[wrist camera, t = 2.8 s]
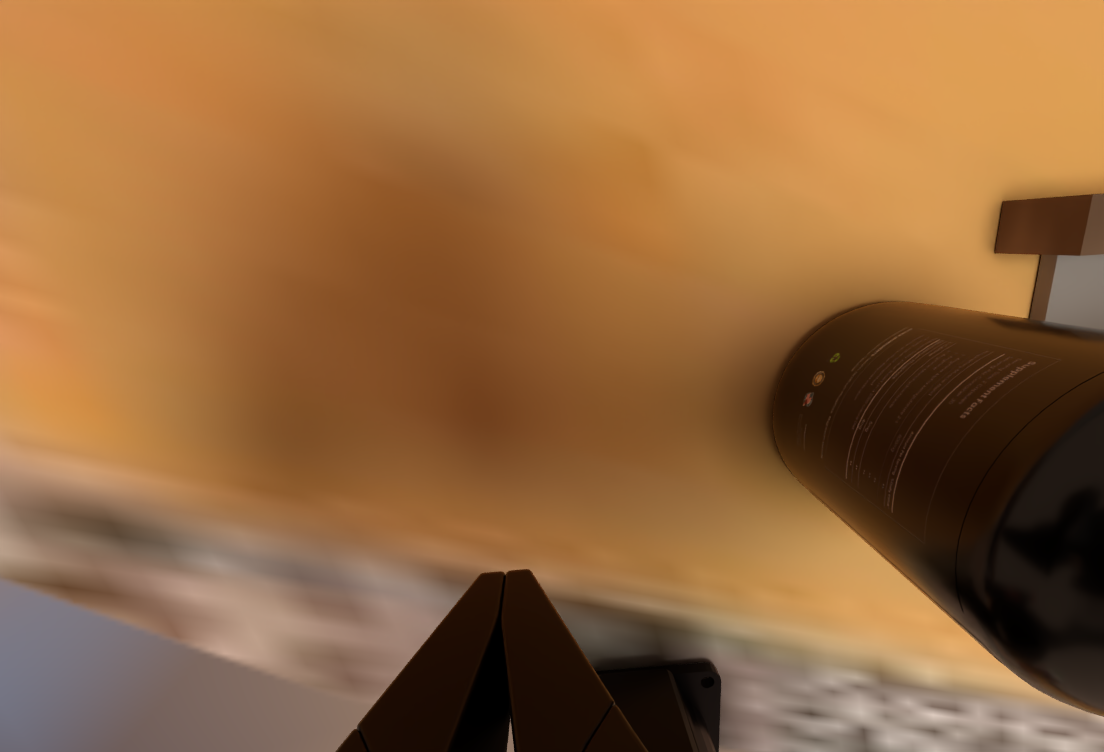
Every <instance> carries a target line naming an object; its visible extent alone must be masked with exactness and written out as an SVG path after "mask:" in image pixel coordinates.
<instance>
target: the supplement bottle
mask: <svg viewBox="0 0 1104 752" xmlns="http://www.w3.org/2000/svg"><path fill="white" fill-rule="evenodd" d="M773 431H774V437H775V440H776V444H777V447H778V450H779V452H780V455H781V457H782V459H783V461H784V463H785V464H786V466H787V467H788V469H789V470H790V472H791V473H792V474H793V475H794V476H795V477H796V478H797V480H798V481H799V482H800V483H801V484H802V485H803V486H804V487H805V488H806V489H808V490H809V491H810V492H811V493H812V494H813V495H814V496H815V497H816V498H817V499H818V500H819V501H820V502H822V503H823V504H824V505H825V506H826V507H827V508H828V509H829V510H831V511H832V512H833V513H834V514H835V515H836V516H837V517H838V518H839V519H841V520H842V521H843V522H844V523H845V524H846V525H847V526H848V527H850V528H851V529H852V530H853V531H854V532H855V533H856V534H857V535H858V536H860V537H861V538H862V539H863V540H864V541H865V542H866V543H867V544H869V545H870V546H871V547H872V548H873V549H874V550H875V551H876V552H877V553H879V554H880V555H881V556H882V557H883V558H884V559H885V560H886V561H888V562H889V563H890V564H891V565H892V566H893V567H894V568H895V569H896V570H898V571H899V572H900V573H901V574H902V575H903V576H904V577H905V578H907V579H908V580H909V581H910V582H911V583H912V584H913V585H914V586H915V587H917V588H918V589H919V590H920V591H921V592H922V593H923V594H924V595H926V596H927V597H928V598H929V599H930V600H931V601H932V602H933V603H934V604H936V605H937V606H938V607H939V608H940V609H941V610H942V611H943V612H945V613H946V614H947V615H948V616H949V617H950V618H951V619H952V620H953V621H955V622H956V623H957V624H958V625H959V626H960V627H961V628H962V629H964V630H965V631H966V632H967V633H968V634H969V635H970V636H971V637H973V638H974V639H975V640H976V641H977V642H978V643H979V644H980V645H981V646H983V647H984V648H985V649H986V650H987V651H988V652H989V653H990V654H992V655H993V656H994V657H995V658H996V659H997V660H998V661H1000V662H1001V663H1002V664H1004V665H1005V666H1006V667H1007V668H1008V669H1010V670H1011V671H1012V672H1013V673H1015V674H1016V675H1017V676H1018V677H1020V678H1021V679H1022V680H1024V681H1025V682H1027V683H1028V684H1030V685H1031V686H1032V687H1034V688H1036V689H1037V690H1039V691H1041V692H1043V693H1045V694H1047V695H1048V696H1050V697H1052V698H1054V699H1056V700H1059V701H1061V702H1063V703H1066V704H1068V705H1071V706H1073V707H1076V708H1078V709H1081V710H1084V711H1086V712H1090V713H1093V714H1096V715H1100V716H1103V717H1104V330H1101V329H1095V328H1088V327H1081V326H1074V325H1067V324H1061V323H1054V322H1047V321H1040V320H1034V319H1027V318H1020V317H1013V316H1006V315H1000V314H993V313H986V312H979V311H972V310H966V309H959V308H952V307H945V306H938V305H929V304H922V303H914V302H882V303H876V304H871V305H867V306H864V307H860V308H857V309H854V310H851V311H849V312H847V313H844V314H842V315H840V316H838V317H836V318H835V319H833V320H831V321H830V322H828V323H827V324H825V325H824V326H822V327H821V328H820V329H818V330H817V331H816V332H815V333H814V334H812V335H811V336H810V337H809V338H808V339H807V340H806V341H805V342H804V343H803V344H802V346H801V347H800V348H799V349H798V350H797V352H796V353H795V354H794V356H793V357H792V359H791V360H790V362H789V363H788V365H787V367H786V368H785V370H784V372H783V375H782V377H781V379H780V382H779V385H778V387H777V391H776V395H775V399H774V406H773Z"/></svg>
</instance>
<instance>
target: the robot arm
mask: <svg viewBox="0 0 1104 752" xmlns="http://www.w3.org/2000/svg"><path fill="white" fill-rule="evenodd" d="M705 677H708V678H705ZM703 678H705V679H703ZM720 696H721V679H720V676H719V673H718V671H717V669H716V667H715V666H714V665H713V664H711V663H705V662H704V663H692V664H680V665H668V666H656V667H644V668H632V669H620V670H608V671H596V672H595V670H594V669H593V667H592V666H591V664H590V662H589V661H588V659H587V658H586V656H585V655H584V653H583V652H582V650H581V648H580V647H579V645H578V644H577V642H576V641H575V639H574V637H573V636H572V634H571V633H570V631H569V630H568V628H567V626H566V625H565V623H564V622H563V620H562V619H561V617H560V615H559V614H558V612H557V611H556V609H555V608H554V606H553V605H552V603H551V601H550V600H549V598H548V597H547V595H546V594H545V592H544V590H543V589H542V587H541V586H540V584H539V583H538V581H537V579H536V578H535V576H534V575H533V573H532V572H531V571H530V570H529V569H524V570H512V571H508V572H507V573H506V575H505V573H504V572H489V573H482V574H480V575H479V576H478V578H477V579H476V580H475V581H474V582H473V584H472V585H471V586H470V587H469V589H468V590H467V591H466V592H465V593H464V595H463V596H462V597H461V598H460V600H459V601H458V602H457V603H456V605H455V606H454V607H453V608H452V609H451V611H450V612H449V613H448V614H447V616H446V617H445V618H444V619H443V621H442V622H441V623H440V624H439V625H438V627H437V628H436V629H435V630H434V632H433V633H432V634H431V635H430V637H429V638H428V639H427V640H426V641H425V643H424V644H423V645H422V646H421V648H420V649H419V650H418V651H417V652H416V654H415V655H414V656H413V657H412V659H411V660H410V661H409V662H408V664H407V665H406V666H405V667H404V668H403V670H402V671H401V672H400V673H399V675H398V676H397V677H396V678H395V680H394V681H393V682H392V683H391V684H390V686H389V687H388V688H387V689H386V691H385V692H384V693H383V694H382V695H381V697H380V698H379V699H378V700H377V702H376V703H375V704H374V705H373V707H372V708H371V709H370V710H369V712H368V713H367V714H366V715H365V717H364V718H363V719H362V720H361V721H360V723H359V724H358V726H357V729H354V730H353V731H352V732H351V733H350V735H349V736H348V737H347V738H346V740H345V741H344V742H343V743H342V744H341V746H340V747H339V748H338V749H337V750H336V752H507V743H508V734H509V723H510V717H511V726H512V734H513V743H514V752H719V725H720Z"/></svg>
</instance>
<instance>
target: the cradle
mask: <svg viewBox="0 0 1104 752" xmlns="http://www.w3.org/2000/svg"><path fill="white" fill-rule="evenodd" d="M995 253H1007V254H1038V255H1041V261H1040V266H1039V271H1038V276H1037V282H1036V287H1035V292H1034V298H1033V303H1032V308H1031V313H1030V319H1034V320H1040V321H1047V322H1054V323H1061V324H1067V325H1074V326H1081V327H1088V328H1095V329H1101V330H1104V194H1092V195H1079V196H1066V197H1053V198H1040V199H1027V200H1014V201H1003V206H1002V212H1001V218H1000V224H999V230H998V236H997V242H996V248H995Z"/></svg>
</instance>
